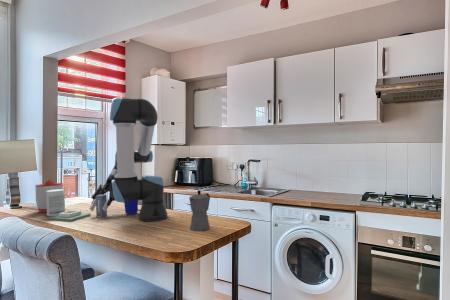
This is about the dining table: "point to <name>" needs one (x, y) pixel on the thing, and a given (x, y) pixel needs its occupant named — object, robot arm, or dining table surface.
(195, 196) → the coffeepot
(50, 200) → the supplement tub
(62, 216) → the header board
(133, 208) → the mug
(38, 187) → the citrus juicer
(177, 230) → the dining table surface
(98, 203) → the dark grey block
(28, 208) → the dining table surface
